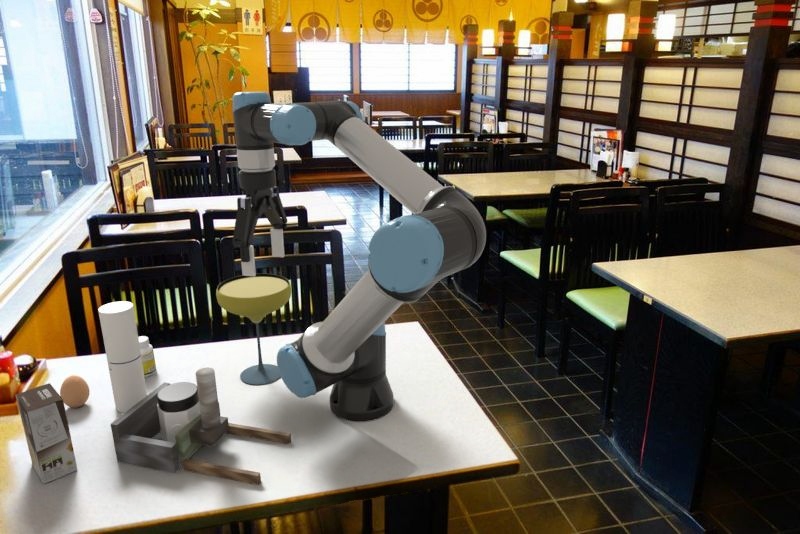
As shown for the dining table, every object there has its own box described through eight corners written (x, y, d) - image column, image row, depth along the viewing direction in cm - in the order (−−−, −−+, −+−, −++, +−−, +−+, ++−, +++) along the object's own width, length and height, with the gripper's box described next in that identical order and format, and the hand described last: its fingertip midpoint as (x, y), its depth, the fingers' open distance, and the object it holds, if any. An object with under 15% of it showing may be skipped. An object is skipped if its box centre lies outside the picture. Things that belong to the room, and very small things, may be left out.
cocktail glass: (262, 399, 142) (253, 303, 135) (210, 380, 151) (199, 289, 144) (310, 369, 157) (305, 280, 149) (260, 353, 166) (253, 268, 158)
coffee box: (79, 469, 118) (64, 399, 113) (43, 485, 113) (26, 412, 108) (64, 449, 124) (50, 382, 119) (30, 463, 120) (13, 393, 115)
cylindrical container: (133, 414, 136) (116, 315, 129) (108, 409, 139) (90, 311, 131) (154, 399, 143) (140, 303, 135) (131, 394, 145) (115, 299, 137)
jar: (158, 454, 122) (150, 403, 119) (166, 431, 130) (159, 383, 126) (203, 450, 124) (196, 399, 120) (208, 427, 131) (202, 380, 128)
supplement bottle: (134, 370, 157) (128, 336, 154) (156, 366, 159) (151, 333, 156) (134, 379, 152) (128, 345, 149) (157, 375, 154) (151, 341, 151)
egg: (57, 409, 139) (51, 379, 136) (80, 397, 144) (74, 368, 141) (75, 415, 136) (68, 385, 134) (97, 402, 141) (92, 373, 139)
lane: (293, 437, 128) (290, 401, 125) (255, 488, 112) (251, 448, 109) (169, 417, 135) (164, 382, 133) (117, 462, 120) (110, 424, 117)
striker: (236, 435, 128) (228, 360, 122) (208, 466, 118) (198, 386, 112) (208, 430, 130) (199, 356, 124) (178, 461, 119) (167, 382, 114)
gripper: (268, 159, 135) (274, 248, 142) (207, 178, 113) (218, 282, 119) (298, 161, 133) (303, 250, 140) (242, 180, 111) (252, 286, 117)
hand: (264, 265), depth 130 cm, fingers open, 13 cm apart
